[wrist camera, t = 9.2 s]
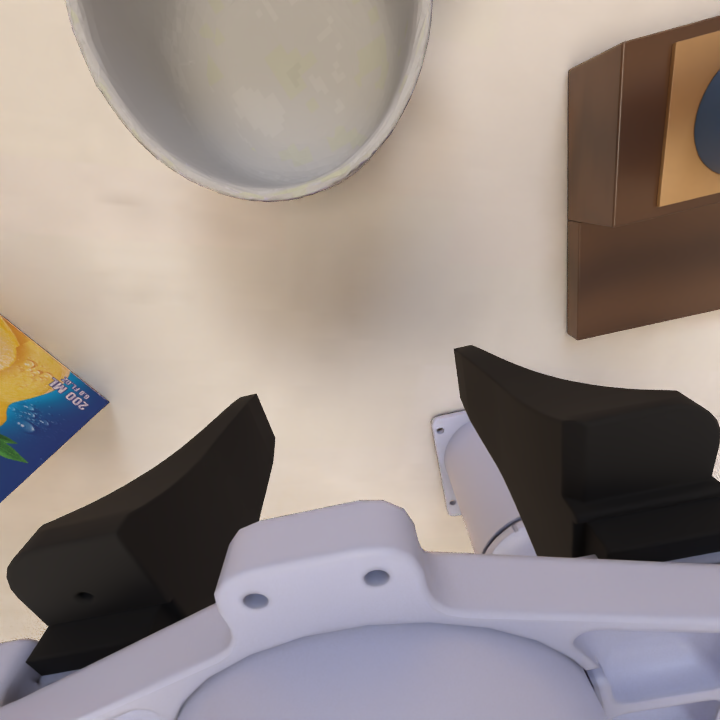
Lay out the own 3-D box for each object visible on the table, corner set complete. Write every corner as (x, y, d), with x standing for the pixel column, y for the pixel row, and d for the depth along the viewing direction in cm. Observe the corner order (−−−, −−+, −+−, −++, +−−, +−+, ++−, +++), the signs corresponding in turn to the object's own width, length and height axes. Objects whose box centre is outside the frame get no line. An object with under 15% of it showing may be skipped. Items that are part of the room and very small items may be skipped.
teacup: (222, 216, 20) (154, 235, 13) (124, -52, 16) (-63, -248, 9) (478, 151, 19) (555, 133, 12) (452, -155, 15) (552, -474, 8)
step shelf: (747, 293, 23) (826, 315, 19) (566, 333, 24) (607, 362, 20) (810, 3, 17) (941, -47, 13) (567, 69, 18) (626, 39, 14)
